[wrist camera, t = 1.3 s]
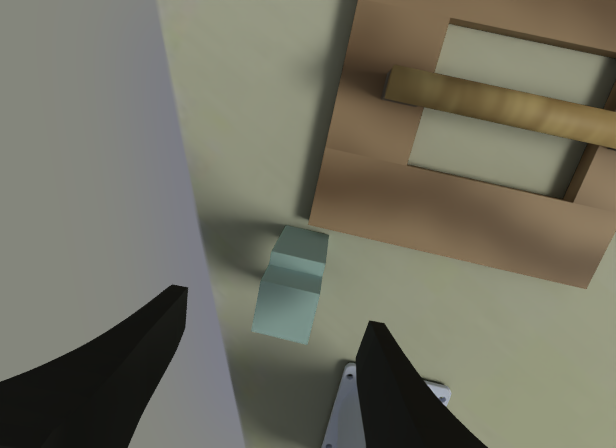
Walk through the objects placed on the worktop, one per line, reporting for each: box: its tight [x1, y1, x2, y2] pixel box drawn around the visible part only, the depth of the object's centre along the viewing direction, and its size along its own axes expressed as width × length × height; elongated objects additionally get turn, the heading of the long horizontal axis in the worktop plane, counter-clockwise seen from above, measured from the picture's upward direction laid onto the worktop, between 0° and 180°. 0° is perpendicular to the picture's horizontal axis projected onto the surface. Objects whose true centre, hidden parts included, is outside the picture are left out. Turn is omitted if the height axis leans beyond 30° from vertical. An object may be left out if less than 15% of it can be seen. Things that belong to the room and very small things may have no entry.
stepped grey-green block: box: [251, 225, 329, 345], centre depth 21 cm, size 5×3×7 cm, turn 168°
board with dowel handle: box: [308, 0, 616, 289], centre depth 18 cm, size 18×18×4 cm
